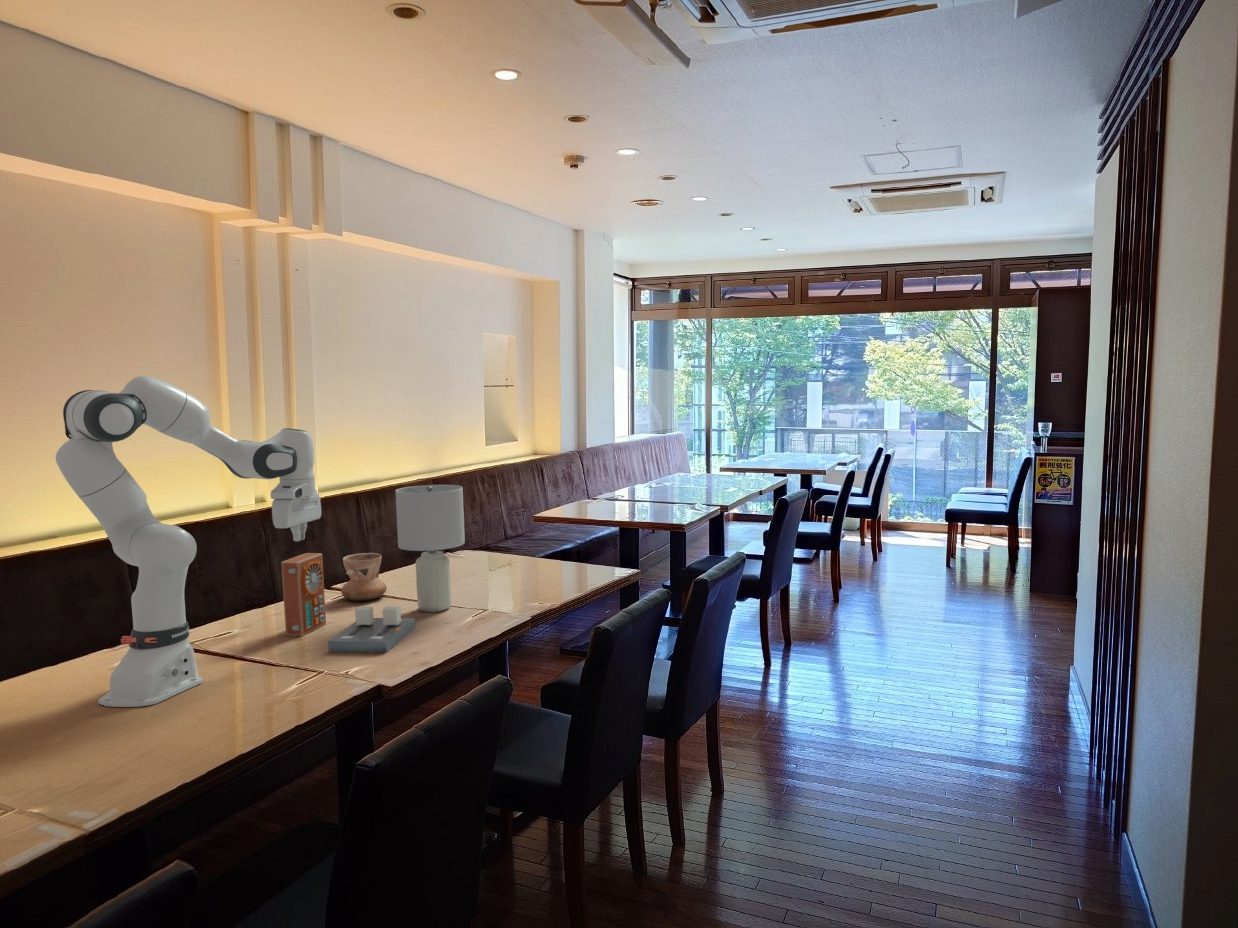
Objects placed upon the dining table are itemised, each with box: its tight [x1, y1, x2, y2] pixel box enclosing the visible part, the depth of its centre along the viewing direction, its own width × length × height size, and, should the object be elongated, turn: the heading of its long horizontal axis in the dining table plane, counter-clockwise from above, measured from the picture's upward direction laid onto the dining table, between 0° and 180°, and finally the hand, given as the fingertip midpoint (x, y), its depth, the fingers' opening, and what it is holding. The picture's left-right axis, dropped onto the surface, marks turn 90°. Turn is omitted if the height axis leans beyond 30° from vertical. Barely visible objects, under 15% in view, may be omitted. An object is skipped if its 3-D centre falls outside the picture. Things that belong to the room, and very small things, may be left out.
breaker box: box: [327, 617, 416, 654], centre depth 231 cm, size 22×16×3 cm
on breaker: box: [354, 606, 375, 625], centre depth 235 cm, size 3×4×4 cm
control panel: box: [280, 552, 327, 637], centre depth 242 cm, size 21×7×15 cm
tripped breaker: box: [382, 606, 402, 625], centre depth 234 cm, size 3×4×4 cm
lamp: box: [395, 484, 466, 613], centre depth 260 cm, size 20×20×39 cm
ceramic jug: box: [340, 552, 388, 602], centre depth 277 cm, size 18×14×14 cm
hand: (299, 540), depth 224 cm, fingers closed
